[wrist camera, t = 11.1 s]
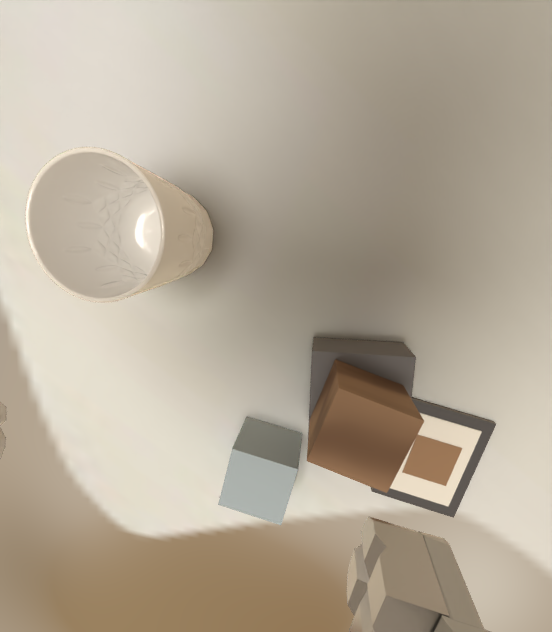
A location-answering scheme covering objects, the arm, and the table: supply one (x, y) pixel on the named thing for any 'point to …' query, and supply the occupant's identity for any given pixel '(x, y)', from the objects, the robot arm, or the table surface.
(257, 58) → the table surface
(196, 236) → the white cup
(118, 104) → the table surface
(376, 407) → the walnut block
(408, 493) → the card
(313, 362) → the charcoal base block
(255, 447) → the slate-blue block
